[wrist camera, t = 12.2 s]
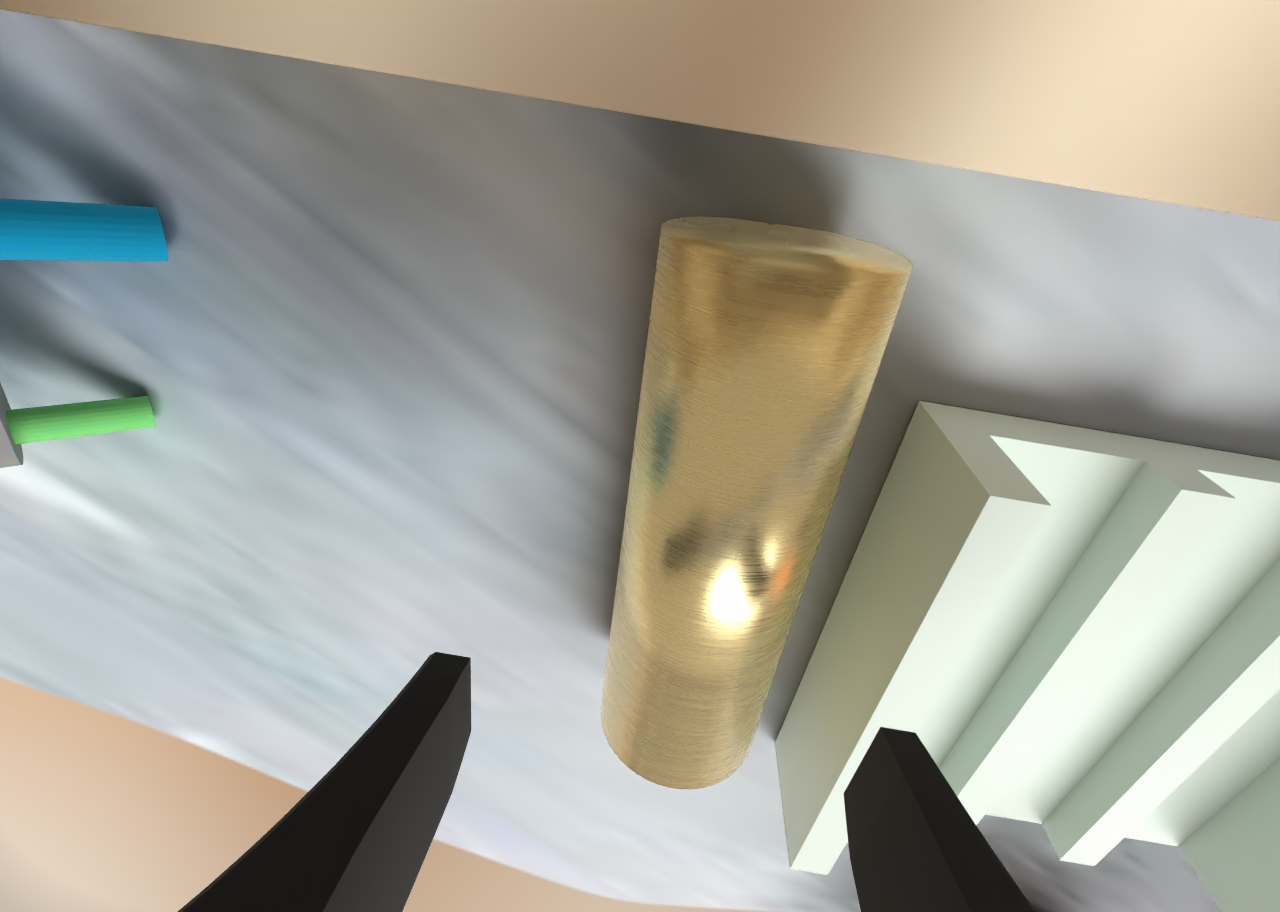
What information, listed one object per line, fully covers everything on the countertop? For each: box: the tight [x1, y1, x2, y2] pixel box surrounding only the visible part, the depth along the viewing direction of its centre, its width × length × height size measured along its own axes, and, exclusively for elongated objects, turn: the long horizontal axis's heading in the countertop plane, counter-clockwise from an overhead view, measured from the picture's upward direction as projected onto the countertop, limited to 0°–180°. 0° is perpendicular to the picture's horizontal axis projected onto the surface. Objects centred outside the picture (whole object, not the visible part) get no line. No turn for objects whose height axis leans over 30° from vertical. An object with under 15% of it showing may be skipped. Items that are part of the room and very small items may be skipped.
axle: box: [601, 217, 913, 789], centre depth 13 cm, size 12×4×4 cm, turn 174°
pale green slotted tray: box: [775, 401, 1280, 912], centre depth 14 cm, size 13×12×4 cm
